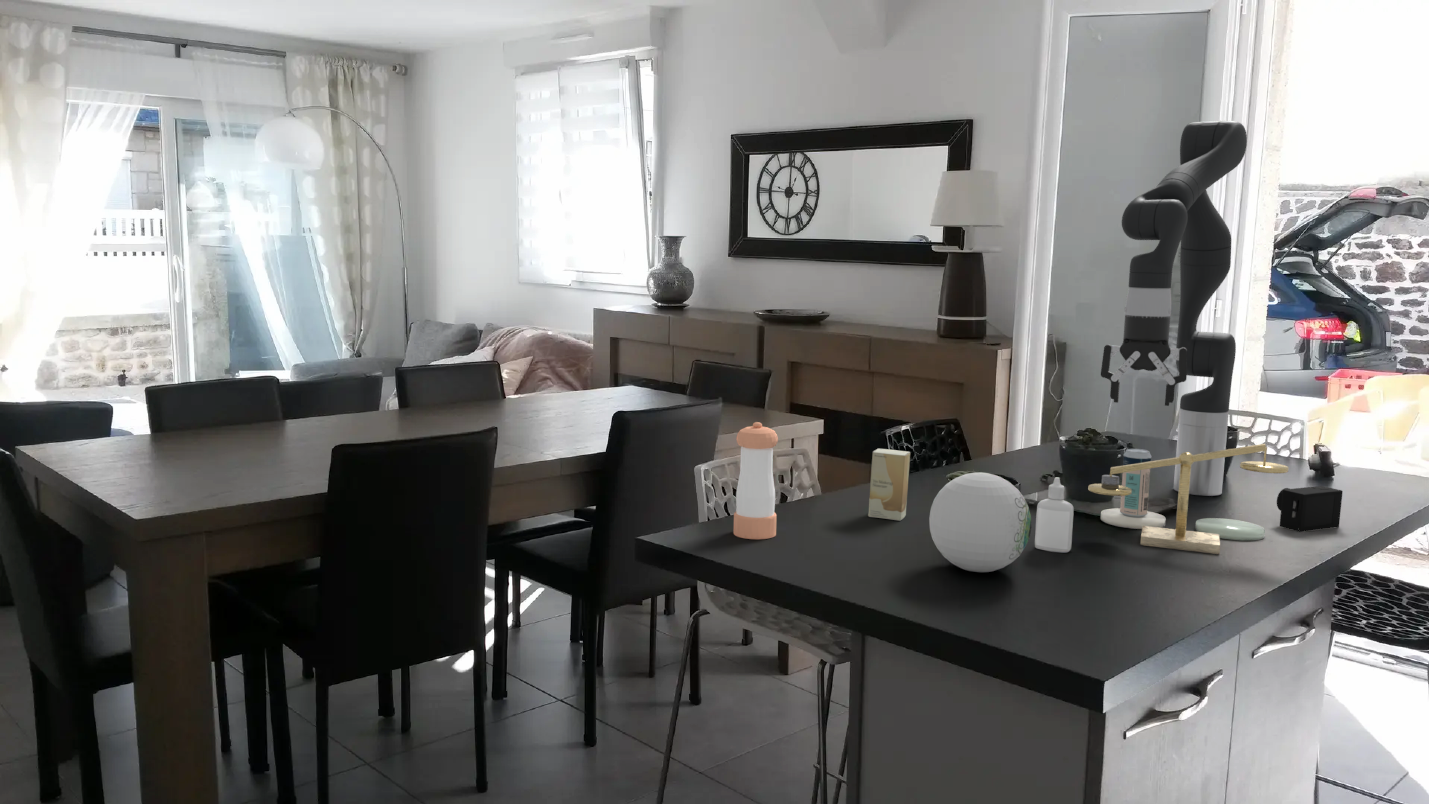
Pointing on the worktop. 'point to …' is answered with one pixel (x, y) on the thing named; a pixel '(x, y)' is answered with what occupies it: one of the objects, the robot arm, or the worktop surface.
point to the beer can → (1136, 484)
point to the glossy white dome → (1132, 519)
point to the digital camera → (1309, 508)
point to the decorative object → (980, 522)
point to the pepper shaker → (756, 484)
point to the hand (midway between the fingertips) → (1141, 403)
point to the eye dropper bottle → (1054, 521)
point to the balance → (1182, 497)
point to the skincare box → (889, 484)
